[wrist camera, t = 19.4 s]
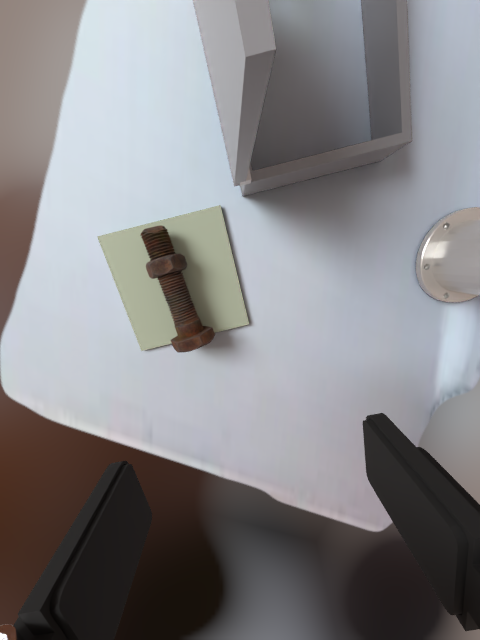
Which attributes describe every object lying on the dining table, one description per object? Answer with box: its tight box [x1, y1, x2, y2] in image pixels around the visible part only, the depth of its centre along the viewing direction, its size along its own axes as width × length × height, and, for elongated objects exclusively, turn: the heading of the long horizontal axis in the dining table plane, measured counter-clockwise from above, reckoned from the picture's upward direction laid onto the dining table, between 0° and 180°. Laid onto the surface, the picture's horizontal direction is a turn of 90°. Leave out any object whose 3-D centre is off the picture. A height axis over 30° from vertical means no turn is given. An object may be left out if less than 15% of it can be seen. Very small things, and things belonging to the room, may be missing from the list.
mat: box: [98, 205, 249, 351], centre depth 31 cm, size 16×16×1 cm
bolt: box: [140, 225, 215, 352], centre depth 29 cm, size 6×5×15 cm
